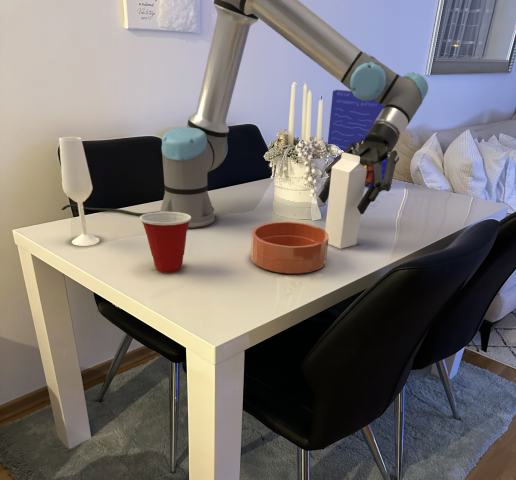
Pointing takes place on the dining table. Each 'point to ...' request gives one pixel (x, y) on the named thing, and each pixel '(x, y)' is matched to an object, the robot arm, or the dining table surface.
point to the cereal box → (353, 124)
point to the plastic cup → (166, 238)
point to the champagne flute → (76, 181)
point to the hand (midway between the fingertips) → (340, 205)
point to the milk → (345, 201)
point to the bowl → (289, 247)
